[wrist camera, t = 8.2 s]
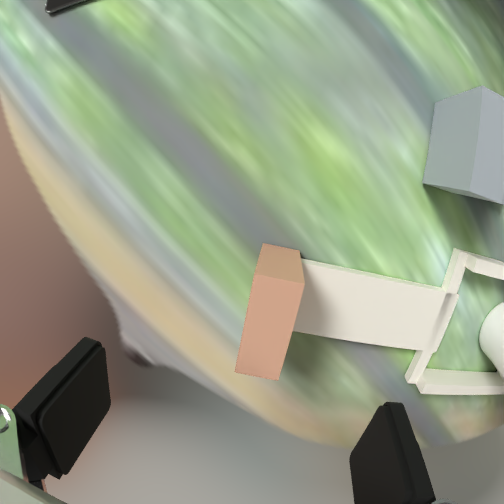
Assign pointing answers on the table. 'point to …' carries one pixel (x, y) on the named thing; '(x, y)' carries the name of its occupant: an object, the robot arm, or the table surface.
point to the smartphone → (60, 5)
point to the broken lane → (468, 145)
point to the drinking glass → (494, 337)
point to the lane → (358, 315)
